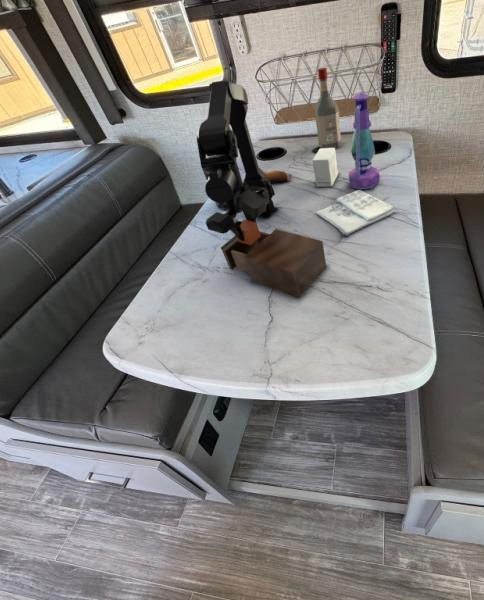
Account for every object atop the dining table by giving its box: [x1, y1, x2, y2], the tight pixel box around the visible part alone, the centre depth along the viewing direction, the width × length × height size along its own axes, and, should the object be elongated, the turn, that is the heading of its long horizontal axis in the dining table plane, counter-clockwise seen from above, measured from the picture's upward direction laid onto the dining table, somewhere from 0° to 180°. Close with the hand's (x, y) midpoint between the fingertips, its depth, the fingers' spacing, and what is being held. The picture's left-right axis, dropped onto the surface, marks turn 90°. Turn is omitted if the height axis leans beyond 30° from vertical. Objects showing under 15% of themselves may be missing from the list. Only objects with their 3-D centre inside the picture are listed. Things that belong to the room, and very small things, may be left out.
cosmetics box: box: [312, 147, 339, 188], centre depth 127 cm, size 10×6×10 cm, turn 164°
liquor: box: [314, 67, 342, 150], centre depth 143 cm, size 9×9×30 cm
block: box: [237, 218, 261, 245], centre depth 91 cm, size 4×4×4 cm
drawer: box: [220, 230, 270, 274], centre depth 96 cm, size 19×12×7 cm, turn 58°
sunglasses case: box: [242, 169, 290, 183], centre depth 135 cm, size 18×7×7 cm
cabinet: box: [245, 228, 327, 299], centre depth 90 cm, size 16×14×9 cm
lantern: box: [348, 91, 380, 190], centre depth 114 cm, size 13×12×30 cm
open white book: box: [315, 189, 396, 237], centre depth 110 cm, size 19×20×2 cm
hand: (248, 235), depth 92 cm, fingers closed on block, 4 cm apart
